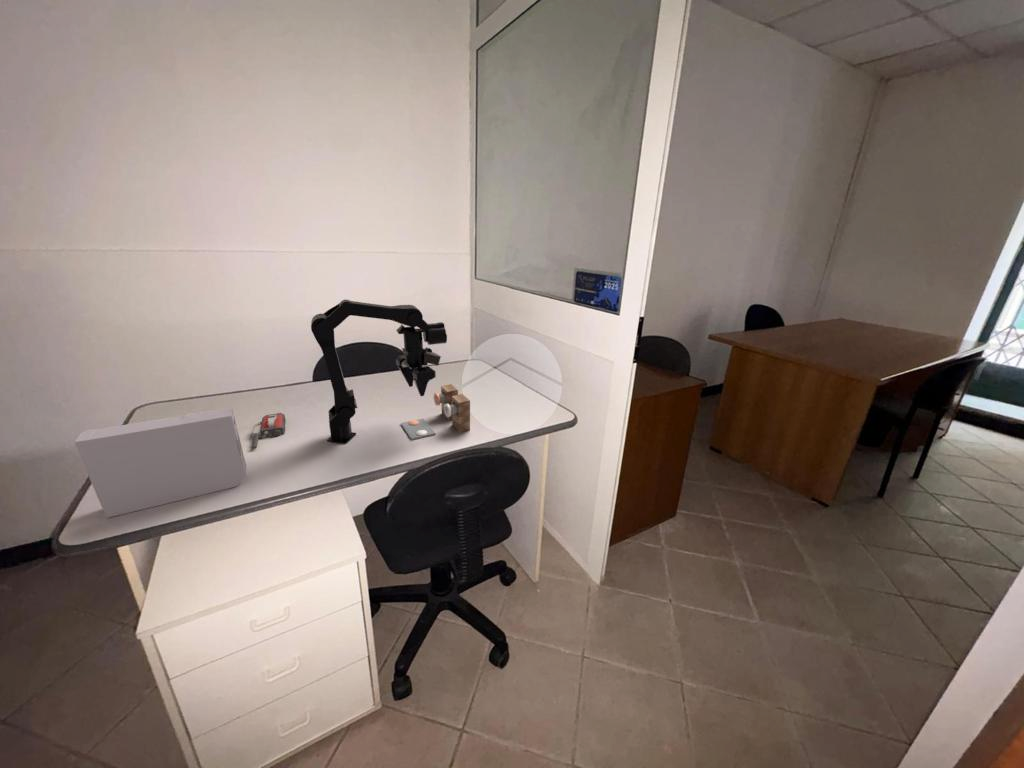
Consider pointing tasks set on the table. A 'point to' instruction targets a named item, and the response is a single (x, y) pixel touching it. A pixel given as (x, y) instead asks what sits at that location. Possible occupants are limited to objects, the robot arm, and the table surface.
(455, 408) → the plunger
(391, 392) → the table surface
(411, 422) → the card
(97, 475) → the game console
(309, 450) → the table surface
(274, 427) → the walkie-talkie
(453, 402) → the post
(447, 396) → the post
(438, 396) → the plunger
